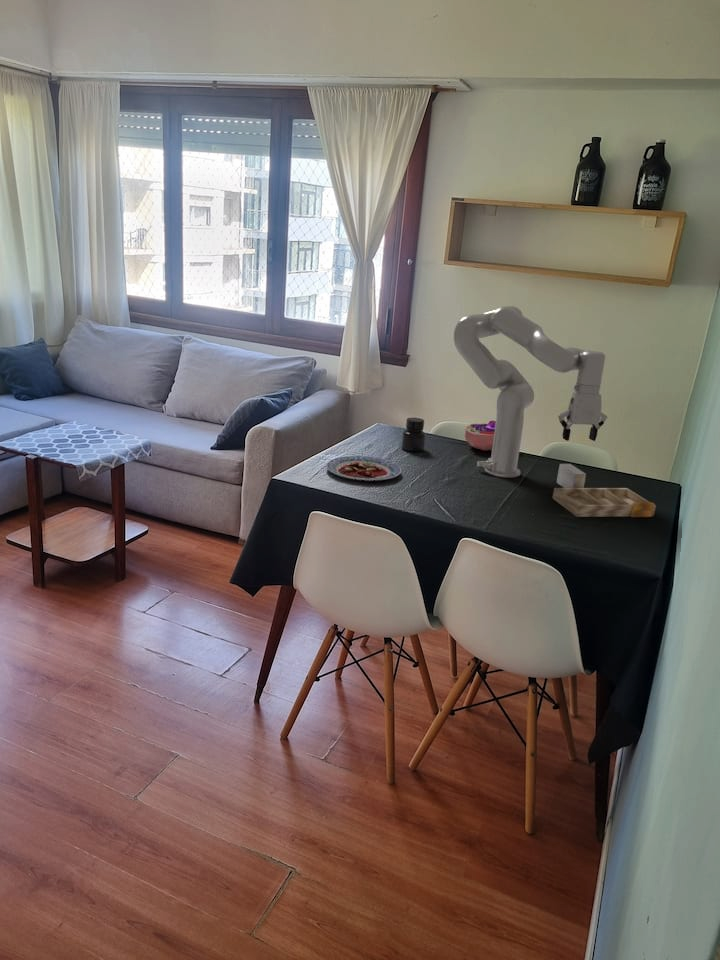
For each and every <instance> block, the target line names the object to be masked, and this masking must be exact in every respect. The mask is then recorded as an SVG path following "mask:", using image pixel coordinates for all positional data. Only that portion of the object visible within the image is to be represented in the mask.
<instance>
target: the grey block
mask: <svg viewBox="0 0 720 960" xmlns="http://www.w3.org/2000/svg"><path fill="white" fill-rule="evenodd" d="M557 472H558V473H557V477H556V483H557V484H558V485H560V487H561V488H585V482H586V477H587V473H585V472H584V471H583V470H581V469H579V468H578V467H576V466H575V465H573V464H571V463H559V467H558V471H557Z"/></svg>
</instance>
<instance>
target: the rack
mask: <svg viewBox="0 0 720 960" xmlns="http://www.w3.org/2000/svg"><path fill="white" fill-rule="evenodd" d="M552 499H553V500H554V501H555V502H557V503H558V504H559V505H561V506H562V507H564V508H565V510H567V511H569V512H570V513H571V514H572V515H573V516H574V517H576V518H577V517H578V518H579V517H580V518H582V517H583V518H585V517H586V518H589V517H591V518H593V517H595V518H597V517H602V518H603V517H631V518H651V517H654V516H655V513H656V508H657V505H656V504H655V503H654V502H651V501H649V500H648V499H646V498H644V497H642V496H641V495H639V494H638V493H637V492H634V491H633V490H631V489H630V488H628V487H598V488H597V487H584V488H563V487H554V488H553V493H552Z"/></svg>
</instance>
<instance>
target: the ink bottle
mask: <svg viewBox="0 0 720 960" xmlns="http://www.w3.org/2000/svg"><path fill="white" fill-rule="evenodd" d="M405 423H406V424H405V428H406V429H404V431H403V432H402V436H401V437H402V439H401V449H402V450H403V449H405V450H404V451H406V450H409V451H408V452H410V451H421V452H423V451H424V450H425V446H426V445H425V443H426V433H425V432H424V427H425V419H423V418H421V417H406V422H405Z"/></svg>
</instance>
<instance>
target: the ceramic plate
mask: <svg viewBox="0 0 720 960" xmlns="http://www.w3.org/2000/svg"><path fill="white" fill-rule="evenodd" d="M348 464H349V465H348ZM342 466H343V467H342ZM340 467H341V468H340ZM339 468H340V469H339ZM326 469H327V470H328V471H329V472H330V473H332V474H334V475H336V476H339V477H342V478H346V479H351V480H355V479H356V480H357V481H362V480H364V481H365V482H366V481H368V482H370V481H371V482H373V481H374V480H375V481H384V480H390V479H394V478H396V477H398V476H399V475H401V473H402V468H401V467H400V466H399V465H398V464H397V463H394V462H392V461H390V460H388V459H384V458H378V457H374V456H373V457H372V456H363V455H349V456H341V457H336V458H333V459H331V460H329V461H328V462H327V463H326ZM356 480H355V481H356Z"/></svg>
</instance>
